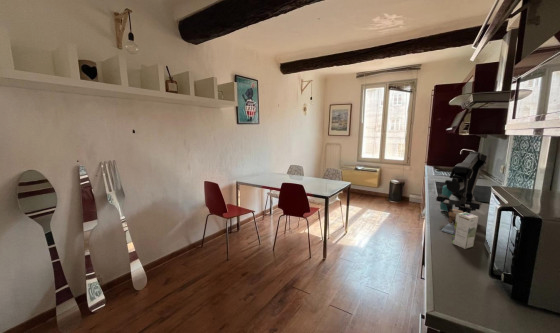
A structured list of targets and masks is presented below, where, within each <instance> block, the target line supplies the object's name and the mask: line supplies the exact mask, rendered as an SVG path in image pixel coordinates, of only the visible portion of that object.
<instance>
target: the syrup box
mask: <svg viewBox="0 0 560 333" xmlns="http://www.w3.org/2000/svg"><path fill="white" fill-rule="evenodd" d="M454 221H455V222H454V225H455V226H454V232H453V234H452V239H451V244H453V245H455V246H458V247H460V248H462V249H464V250H467V249H470V248H473V247H474V246H475V239H476V233H477V229H478V222H479V216H478V215H475V214H472V213H471V214H470V213H466V212H463V213H459V214H456V218H455V220H454Z"/></svg>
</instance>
